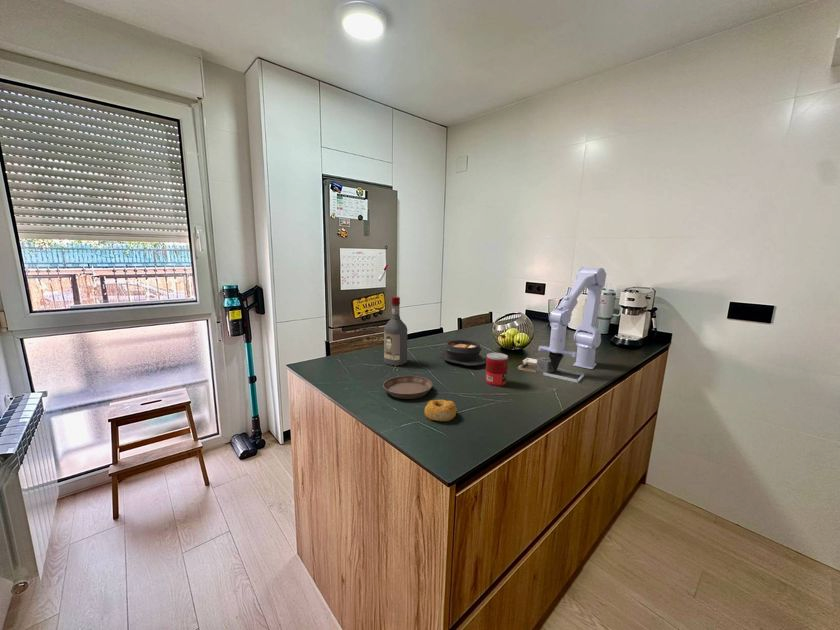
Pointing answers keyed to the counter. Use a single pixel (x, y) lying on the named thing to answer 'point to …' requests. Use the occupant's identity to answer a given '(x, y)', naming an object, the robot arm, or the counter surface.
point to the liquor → (395, 337)
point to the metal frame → (566, 377)
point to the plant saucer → (407, 387)
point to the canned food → (496, 369)
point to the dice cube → (544, 365)
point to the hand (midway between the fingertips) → (555, 370)
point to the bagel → (440, 410)
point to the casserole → (463, 353)
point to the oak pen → (527, 369)
